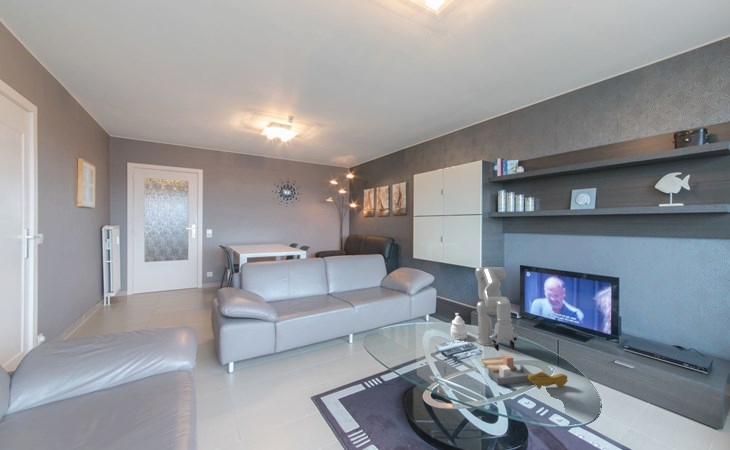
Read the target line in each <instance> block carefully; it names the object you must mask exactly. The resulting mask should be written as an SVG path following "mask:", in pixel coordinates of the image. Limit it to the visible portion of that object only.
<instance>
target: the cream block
mask: <svg viewBox="0 0 730 450" xmlns="http://www.w3.org/2000/svg"><path fill="white" fill-rule="evenodd" d="M499 375H500V376H501V377H509V376H511V369H510V368H509V367H508V366H507V365H503V366H499Z"/></svg>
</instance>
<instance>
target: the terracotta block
mask: <svg viewBox="0 0 730 450" xmlns="http://www.w3.org/2000/svg"><path fill="white" fill-rule="evenodd" d="M502 357H503V365H507V366H508V367H514V366H515V364H514V357H513V356H512V355H511V354H503V355H502Z"/></svg>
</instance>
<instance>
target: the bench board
mask: <svg viewBox="0 0 730 450" xmlns="http://www.w3.org/2000/svg"><path fill="white" fill-rule="evenodd" d="M480 360H481V361H480V362H481V363H482V364H483V365H484V366H485V367H486V369H488V368H490V369H491V370H492V371H493V372H494V373H496V372H499V366H503V356H497V357H496V356H495V357H488V358H481V359H480ZM509 368H510V369H511V371H514V370H518V368H517V366H515V365H514V367H509Z"/></svg>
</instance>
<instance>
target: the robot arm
mask: <svg viewBox="0 0 730 450" xmlns="http://www.w3.org/2000/svg"><path fill="white" fill-rule="evenodd" d="M474 273H475V277H476V280H477V287H478V288H477V289H478V290H477V291H478V297H479V300H481V301H478V302H477V303H476V311H477V312H476V313H477V320H478V321H477V322H478V323H477V327H478V328H477V329H478V333H477V335H478V337H477V338H476V342H477V343H478V344H479V345H483V346H487V347H488V346H489V347H490V346H493V345H494V349H495V350H496V351H497V352H499V351H500V345H499V343H500V342H507V341H509V347H510V349H512V350H515V343H516V341H517V340H518V337H519V334H518V333H516V332H514V327H513V324H512V322H513V318H511V317H512V316H511V315H512V314H511V313H512V311H511V310H512V309H511V306H512V305H511V302H510V299H509V298H508V297H507V296H502V292H501V289H500V288H501V287H502V286H501V281H500V280H505V279H506V278H507V272H506V270H505V268H504V267H503V266H493V267H491V266H482V267H477V268H475V271H474ZM490 315H496V322H495V324H494V329H493V327H492V326H493V324H492V323H493V322H492V318H491V317H490ZM493 331H494V333H493Z"/></svg>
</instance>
